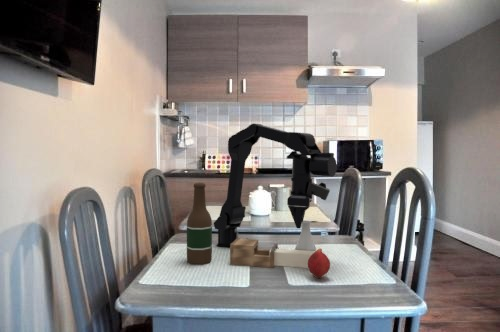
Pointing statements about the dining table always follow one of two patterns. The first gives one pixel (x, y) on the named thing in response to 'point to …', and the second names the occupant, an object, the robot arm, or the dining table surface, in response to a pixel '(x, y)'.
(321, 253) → the onion
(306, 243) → the flask
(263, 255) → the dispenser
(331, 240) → the dining table surface
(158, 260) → the dining table surface
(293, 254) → the pink-topped cream pillar
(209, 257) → the beer bottle
